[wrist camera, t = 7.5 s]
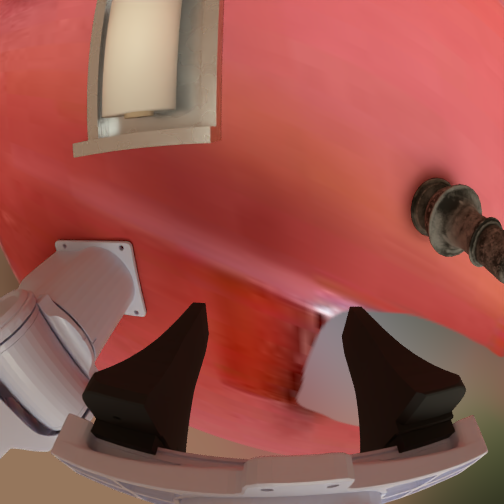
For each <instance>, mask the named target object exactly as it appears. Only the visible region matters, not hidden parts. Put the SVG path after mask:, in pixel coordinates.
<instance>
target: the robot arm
mask: <svg viewBox="0 0 504 504" xmlns="http://www.w3.org/2000/svg"><path fill="white" fill-rule="evenodd" d="M121 245H122V246H123V248H124V249H122V248H121ZM66 246H67V247H66ZM55 247H56V252H55V253H54V254H52V255H51V256H50V257H49V258H47V259H46V260H45V261H44V262H42V263H41V264H40V265H39V266H38V267H36V268H35V269H34V270H33V271H32V272H31V273H29V274H28V275H27V276H26V277H25V278H24V279H23V280H22V282H21V283H20V285H19V287H18V289H16V290H13V291H11V292H9V293H7V294H5V295H4V296H2V297H1V298H0V459H1V457H2V456H3V455H4V454H5V453H6V452H7V451H8V450H9V449H11V448H15V449H23V450H31V451H41V452H47V451H50V450H51V449H52V450H51V454H52V455H53V456H55V457H56V458H57V459H58V460H60V461H61V462H63V463H64V464H65V465H66V466H68V467H69V468H70V469H72V470H73V471H74V472H76V473H77V474H80V475H82V476H84V477H86V478H88V479H91V480H93V481H95V482H97V483H100V484H102V485H104V486H107V487H110V488H112V489H114V490H117V491H120V492H122V493H125V494H127V495H130V496H133V497H136V498H139V499H142V500H145V501H149V502H151V503H155V504H383V503H386V502H390V501H393V500H396V499H399V498H401V497H405V496H408V495H410V494H413V493H415V492H418V491H421V490H423V489H426V488H428V487H430V486H433V485H435V484H437V483H439V482H442V481H444V480H446V479H448V478H451V477H453V476H455V475H457V474H459V473H461V472H462V471H464V470H465V469H466V468H468V467H469V466H470V465H472V464H473V463H475V462H476V461H477V460H479V459H480V458H481V457H482V456H484V455H485V454H486V453H487V452H488V450H487V447H486V445H485V442H484V439H483V437H482V434H481V432H480V429H479V427H478V425H477V423H476V420H475V418H474V416H473V415H472V416H469V417H466V418H464V419H461V420H459V421H457V422H455V423H454V424H452V422H451V419H452V418H453V414H452V410H453V409H454V408H455V407H456V405H457V404H458V403H459V402H460V401H461V399H462V398H463V396H464V394H465V392H466V388H465V386H464V384H463V382H462V380H461V378H460V377H459V375H457V374H454V373H451V372H449V371H446V370H443V369H441V368H439V367H437V366H434V365H432V364H431V363H429V362H427V361H425V360H423V359H422V358H420V357H418V356H417V355H415V354H414V353H412V352H411V351H410V350H408V349H407V348H405V347H404V346H403V345H401V344H400V343H399V342H398V341H397V340H395V339H394V338H393V337H392V336H391V335H390V334H389V333H387V332H386V331H385V330H384V329H383V328H382V327H381V326H380V325H379V324H378V323H377V322H376V321H375V320H374V319H373V318H372V317H371V316H370V315H369V314H368V313H367V312H366V311H365V310H364V309H363V308H362V307H350V308H349V312H348V316H347V320H346V324H345V327H344V331H343V334H342V341H343V348H344V354H345V357H346V361H347V364H348V367H349V371H350V374H351V378H352V381H353V384H354V388H355V393H356V399H357V406H358V415H359V426H360V453H358V454H351V455H349V454H346V453H324V454H311V455H289V456H259V457H255V458H251V459H234V458H224V457H214V456H205V455H198V454H192V453H186V443H187V434H188V426H189V418H190V412H191V405H192V400H193V394H194V389H195V385H196V382H197V379H198V375H199V372H200V369H201V366H202V362H203V359H204V356H205V352H206V348H207V342H208V335H209V331H208V322H207V313H206V304H205V303H192V304H191V305H190V307H189V308H188V309H187V310H186V311H185V312H184V313H183V314H182V315H181V316H180V318H179V319H178V320H177V321H176V322H175V323H174V324H173V325H172V326H171V327H170V328H169V329H168V330H167V331H165V332H164V333H163V334H162V335H161V336H160V337H159V338H158V339H156V340H155V341H154V342H153V343H151V344H150V345H149V346H147V347H146V348H145V349H143V350H141V351H140V352H138V353H137V354H135V355H133V356H132V357H130V358H128V359H126V360H124V361H122V362H120V363H118V364H116V365H114V366H111V367H109V368H106V369H104V370H101V371H98V369H97V368H96V366H95V363H94V362H95V361H96V359H97V357H98V355H99V354H100V352H101V350H102V349H103V347H104V345H105V344H106V342H107V340H108V339H109V337H110V335H111V334H112V332H113V331H114V329H115V327H116V326H117V324H118V323H119V321H120V319H121V318H122V316H123V315H124V314H125V315H133V316H141V317H144V316H145V315H146V308H145V304H144V300H143V295H142V291H141V287H140V282H139V277H138V273H137V268H136V263H135V257H134V252H133V246H132V244H131V243H130V242H128V241H90V240H58V241H56V242H55ZM137 311H138V312H137ZM93 416H95V418H96V420H95V422H94V424H93V423H92V422H90V421H91V420H92V418H93Z"/></svg>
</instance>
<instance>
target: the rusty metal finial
mask: <svg viewBox="0 0 504 504" xmlns="http://www.w3.org/2000/svg"><path fill="white" fill-rule="evenodd" d="M411 218H412V221H413V224H414V226H415V227H416V229H417V230H418V231H419V232H420V233H421V234H423V235H426V236H429V239H430V243H431V245H432V246H433V248H434V250H436V251H437V252H438V253H439V254H440V255H443V256H446V257H452V256H455V255H459V254H460V253H462V252H463V251H465V252H466V253H467V254H468V255H469V258H470V261H471V262H472V264H473V265H475V266H477V267H482V266H484V267H485V268H486V269H487V270H488V271H489V272H490V273H491V274H493V275H494V276H495V277H496V278H497V279H498V280H499V281H500V282H502V283H504V230H503V229H502V226H501V224H500V222H499V220H497V219H496V218H493V217H489V218H486V217H484V216H482V209H481V203H480V200H479V198H478V195H477V194H476V193H475V191H474V190H473V189H471V188H470V187H468V186H466V185H461V184H459V185H454V186H451V185H450V183H449V182H447V181H445V180H444V179H440V178H433V179H430V180H428V181H426V182H424V183H423V184H422V185H421V186H420V187H419V188H418V190H417V192H416V193H415V195H414V198H413V200H412V206H411Z"/></svg>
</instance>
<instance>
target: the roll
mask: <svg viewBox="0 0 504 504" xmlns="http://www.w3.org/2000/svg"><path fill="white" fill-rule="evenodd" d="M181 8H182V0H112V5H111V10H110V16H109V22H108V29H107V37H106V46H105V56H104V69H103V89H102V117H103V118H112V117H124V119H130V118H140V117H148V116H153V115H154V113H160V112H167V111H173V110H176V86H177V60H178V43H179V29H180V18H181Z"/></svg>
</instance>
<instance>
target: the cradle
mask: <svg viewBox="0 0 504 504" xmlns="http://www.w3.org/2000/svg"><path fill="white" fill-rule="evenodd" d="M111 5H112V0H97V4H96V9H95V15H94V21H93V28H92V35H91V43H90V53H89V66H88V85H87V126H88V141H84V142H79V143H75V144H73V155H74V157H80V156H85V155H91V154H97V153H104V152H111V151H118V150H126V149H134V148H143V147H153V146H165V145H179V144H198V143H212V142H216V141H219V140H221V89H222V42H223V15H224V0H182V8H181V18H180V29H179V43H178V60H177V86H176V110H173V111H167V112H160V113H154V115H153V116H148V117H140V118H130V119H124V117H112V118H103V117H102V89H103V69H104V56H105V46H106V37H107V29H108V22H109V16H110V10H111Z"/></svg>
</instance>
